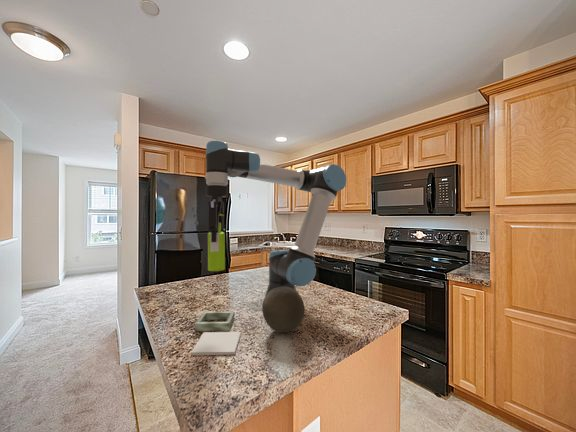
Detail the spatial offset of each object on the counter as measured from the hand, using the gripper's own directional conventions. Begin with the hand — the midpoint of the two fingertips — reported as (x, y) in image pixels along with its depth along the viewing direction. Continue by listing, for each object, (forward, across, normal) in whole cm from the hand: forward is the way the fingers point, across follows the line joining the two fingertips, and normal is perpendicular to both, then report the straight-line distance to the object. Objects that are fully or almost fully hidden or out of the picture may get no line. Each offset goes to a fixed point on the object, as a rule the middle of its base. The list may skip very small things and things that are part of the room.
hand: (216, 250), depth 90 cm
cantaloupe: (+27, +7, +24) cm, 37 cm away
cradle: (+27, 0, 0) cm, 27 cm away
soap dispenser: (+7, 0, 0) cm, 7 cm away
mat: (+26, +14, +4) cm, 30 cm away
